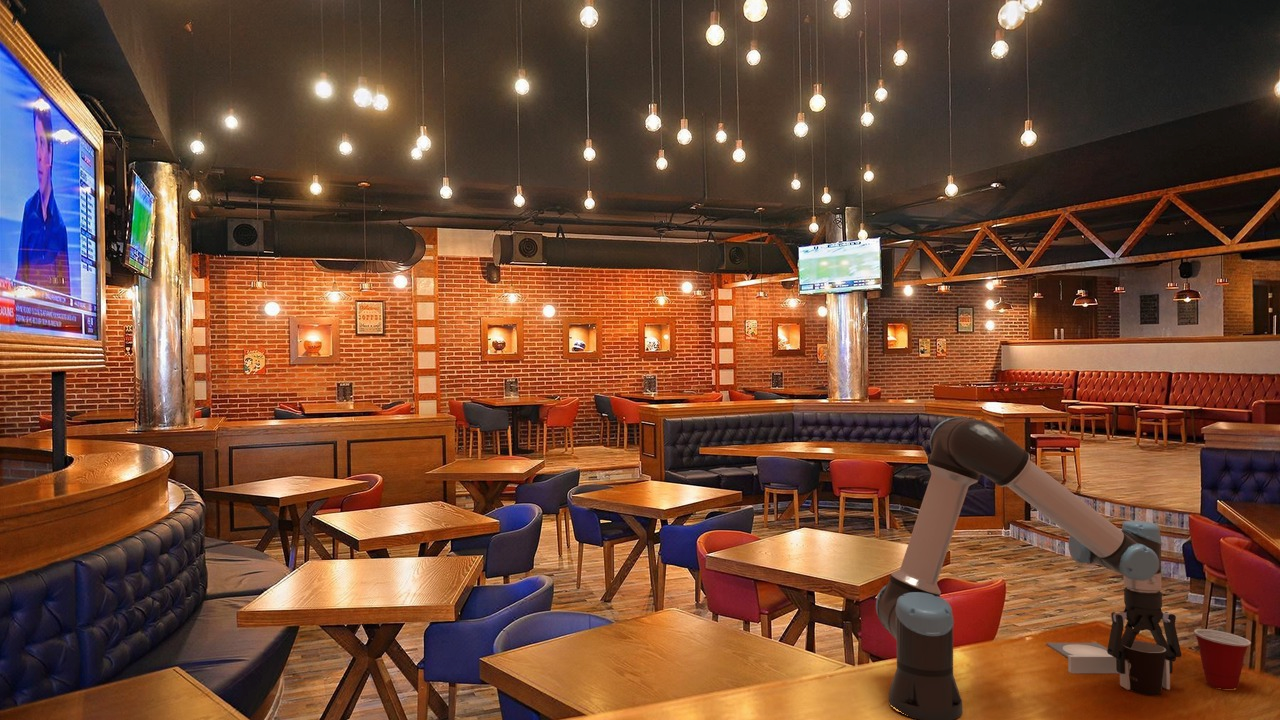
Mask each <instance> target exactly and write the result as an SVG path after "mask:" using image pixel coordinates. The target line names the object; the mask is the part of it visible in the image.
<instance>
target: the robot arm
mask: <svg viewBox="0 0 1280 720" xmlns="http://www.w3.org/2000/svg"><path fill="white" fill-rule="evenodd" d="M929 448H930V451H931V452H930V453H931V454H930V457H929V459H928V463H927V467H928V469H929V472H930V473H931V474H930V478H929V481H928V484H927V486H926V490H925V493H924V496H923V498H922V501H921V502H922V503H921V506H920V507H919V511H918V514H917V517H916V521H915V523H914V526H913V529H912V531H911V535H910V538H909V542H908V543H907V546H906V550H905V553H904V556H903V559H902V562H901V565H900V568H899V569H897V570H895V571H893V572H891V574H890V577H889V580H888V583H887V584H886V585H885V586H883V587H882V588H881V589H880V590H879V592H878V594H877V597H876V600H875V611H876V615H877V616H878V619H879V621H880V623H881V625H882V627H883V628H884V629H885V631H887V632H888V633H889V634H890V635H891V636H892V637H893V638H894V639H895V641H896V669H895V672H894V676H893V678H892V679H893V680H892V683H891V685H890V688H889V692H888V703H889V702H890V704H891V705H892V706H893V707H895V708H896V709H898V710H899V711H901V712H902V713H904V714H906V715H908V716H909V718H911V717H912V719H916V720H956V719H959V718H960V717H961V716H962V715H963V701H962V696H961V694H960V691H959V689H958V685H957V682H956V679H955V676H954V616H953V608H952V606H951V605H950V603H949V602H948V601H947V600H946V599H944V598H942V597H941V593H942V591H941V589H940V588H939V585H938V580H939V577H940V574H941V571H942V568H943V566H944V565H943V564H944V562H945V560H946V557H947V553H948V550H949V547H950V545H951V541H952V537H953V535H954V532H955V529H956V526H957V523H958V519H959V517H960V514H961V512H962V511H961V510H962V508H963V506H964V505H963V504H964V502H965V499H966V495H967V493H968V490H969V487H970V486H971V485H974V484H977V483H978V482H979V480H980V476H981V475H982V476H984V477H985V478H987V479H988V480H990V481H992V482H993V483H994V484H995V485H997V486H998V487H1000V488H1003V487H1007V488H1009V490H1011V491H1012V492H1014V493H1015V494H1016V495H1018V496H1019V497H1020V498H1021V499H1023V500H1024V501H1025V502H1027V503H1028V504H1030V506H1032V507H1033V508H1034V509H1036V510H1037V511H1038V512H1040V513H1041V514H1043V515H1044V516H1045V517H1046V518H1047V519H1049V520H1050V521H1051V522H1053V523H1054V524H1055V525H1056V526H1058V527H1060V528H1061V529H1062V530H1063V531H1064V532H1066V534H1068V535H1069V537H1068V551H1069V554H1070V556H1071V558H1072V560H1073V561H1074V562H1076V563H1077V564H1087V565H1091V564H1092V565H1093V564H1094V565H1098V566H1101V567H1103V568H1106V569H1108V570H1110V571H1114V572H1115V573H1118V574H1120V575H1122V576H1123V585H1124V589H1123V598H1124V599H1123V603H1124V610H1123V612H1114V611H1113V612H1111V614H1110V615H1111V627H1110V634H1109V638H1108V639H1109V640H1108V645H1107V648H1108V649H1107V653H1108V654H1110V655H1111V656H1113V657H1115V658H1116V670H1117V672H1119V673H1118V674H1119V685H1120V686H1121V687H1123V688H1124V689H1125V690H1127V691H1128V690H1130V679H1129V672H1128V664H1127V661H1126V651H1125V648H1124V646H1126V647H1128V648H1131V647H1132V644H1133V642H1134V641H1136V638H1137V636H1138V635H1140V632H1141V631H1150V633H1151V636H1152V637H1153V639H1154V641H1155V644H1157V645H1160V646H1162V647H1164V648H1165V649H1166V654H1165V663H1164V671H1163V680H1162V688H1164V689H1166V690H1171V678H1170V676H1171V674H1172V673H1173V671H1174V668H1173V662H1176V660H1177V658H1181V657H1182V650H1181V647H1180V642H1179V637H1178V633H1177V628H1176V619H1177V618H1176V617H1177V616H1176V615H1175V614H1172V613H1171V612H1168V611H1165V612H1164V611H1162V608H1163V593H1162V592H1161V590H1162V543H1163V542H1162V537H1161V536H1162V535H1161V529H1160V526H1159V525H1157V524H1156V523H1153V522H1151V521H1150V522H1149V521H1143V520H1127V521H1124V522H1123V523H1122V526H1121V529H1120V528H1119V527H1117V526H1116V525H1115V524H1113V523H1112V522H1111V521H1109V520H1108V519H1107V518H1106V517H1104V516H1103V515H1102V514H1101V513H1100V512H1098V511H1097V510H1096V509H1094V508H1093V507H1091V506H1090V505H1088V503H1086V501H1084V500H1082V498H1080V497H1078V496H1077V495H1075V494H1074V493H1073V492H1072V491H1070V489H1068V488H1067V487H1066V486H1064V485H1063V484H1062V483H1060V482H1059V481H1057V480H1056V479H1055V478H1053V476H1051V475H1050V474H1049V473H1047V472H1046V471H1045V470H1044V469H1042V468H1041V467H1040V466H1039V465H1037V464H1036V463H1034V462H1033V461H1032V460H1031V455H1030V453H1029V452H1028V451H1026V450H1025V448H1022V447H1021V446H1020V445H1019V444H1018V443H1017V442H1015V441H1014V440H1013V439H1012V438H1010V436H1008V435H1007V434H1006V433H1004V432H1003V431H1002V430H1001V429H999V428H998V427H996V426H995V425H993V424H992V423H990V422H988V421H986V420H982V419H975V418H974V419H973V418H967V417H962V416H961V417H960V416H959V417H958V416H957V417H951V418H947V419H945V420H942V421H941V422H939V423H938V424H937V425H936V426H935V427H934V428H933V430H932V432H931V435H930V438H929ZM1161 620H1162V623H1163V628H1164V629H1163V630H1164V634H1165V635H1164V634H1163V630H1162V628H1161V626H1160V622H1161ZM1126 621H1127V622H1126ZM1125 623H1126V624H1125ZM1124 624H1125V625H1124ZM1124 626H1125V627H1124ZM1124 629H1125V630H1124ZM1164 636H1165V637H1164ZM1123 645H1124V646H1123ZM1130 691H1131V690H1130ZM908 716H907V717H908Z"/></svg>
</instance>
